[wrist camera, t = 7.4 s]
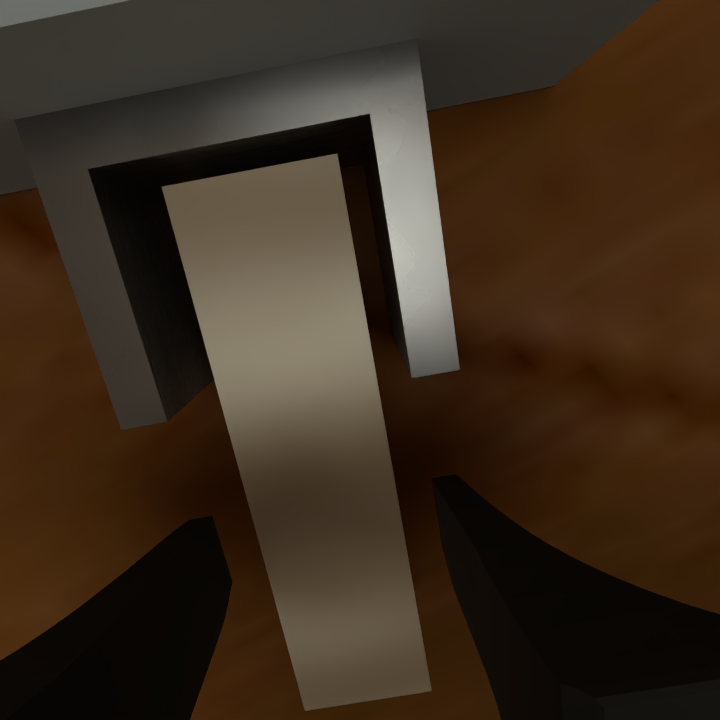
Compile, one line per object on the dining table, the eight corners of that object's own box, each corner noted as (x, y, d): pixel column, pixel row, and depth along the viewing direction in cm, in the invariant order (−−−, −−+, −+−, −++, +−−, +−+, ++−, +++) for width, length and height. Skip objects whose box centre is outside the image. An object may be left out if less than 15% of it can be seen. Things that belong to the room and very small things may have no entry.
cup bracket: (424, 330, 13) (459, 369, 9) (196, 371, 13) (121, 430, 9) (393, 117, 12) (417, 38, 7) (137, 167, 12) (13, 119, 8)
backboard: (553, 86, 12) (836, -146, 5) (-14, 197, 12) (-486, 129, 5) (550, 35, 11) (847, -289, 5) (-31, 151, 12) (-555, 16, 5)
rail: (411, 583, 16) (431, 691, 12) (316, 599, 16) (304, 710, 12) (341, 184, 12) (337, 153, 9) (220, 206, 12) (161, 186, 9)
